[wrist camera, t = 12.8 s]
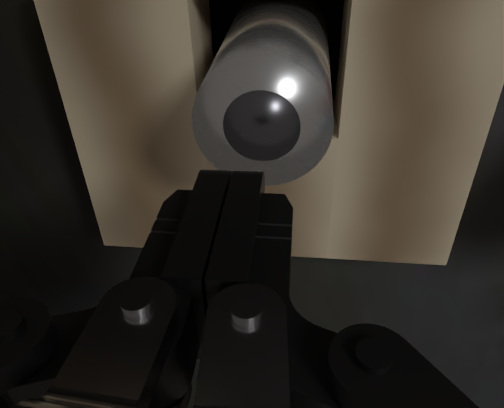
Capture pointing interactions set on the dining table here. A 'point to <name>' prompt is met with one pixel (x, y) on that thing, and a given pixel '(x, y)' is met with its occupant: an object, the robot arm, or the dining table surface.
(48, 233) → the dining table surface
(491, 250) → the dining table surface
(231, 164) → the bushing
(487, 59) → the block
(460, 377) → the dining table surface
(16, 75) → the dining table surface
